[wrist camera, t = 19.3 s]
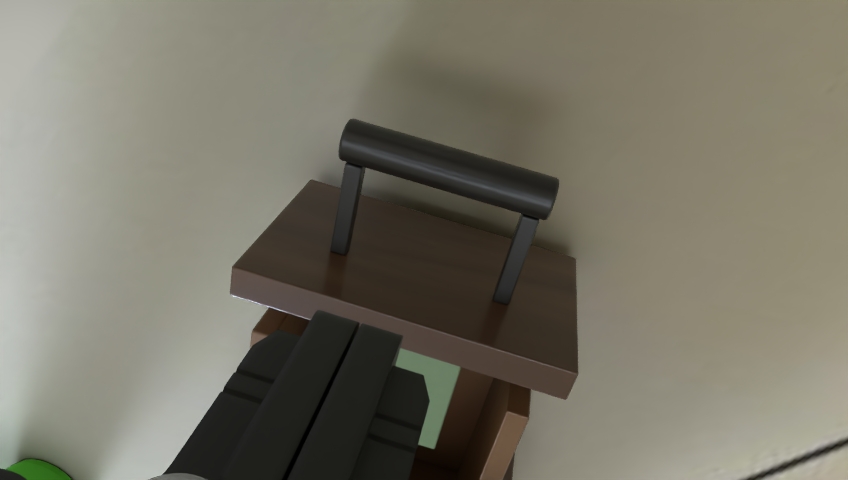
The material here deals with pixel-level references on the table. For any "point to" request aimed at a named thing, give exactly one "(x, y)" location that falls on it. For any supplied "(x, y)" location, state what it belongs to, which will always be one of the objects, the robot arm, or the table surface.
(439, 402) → the block
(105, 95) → the table surface
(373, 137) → the drawer
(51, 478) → the cup
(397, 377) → the robot arm
